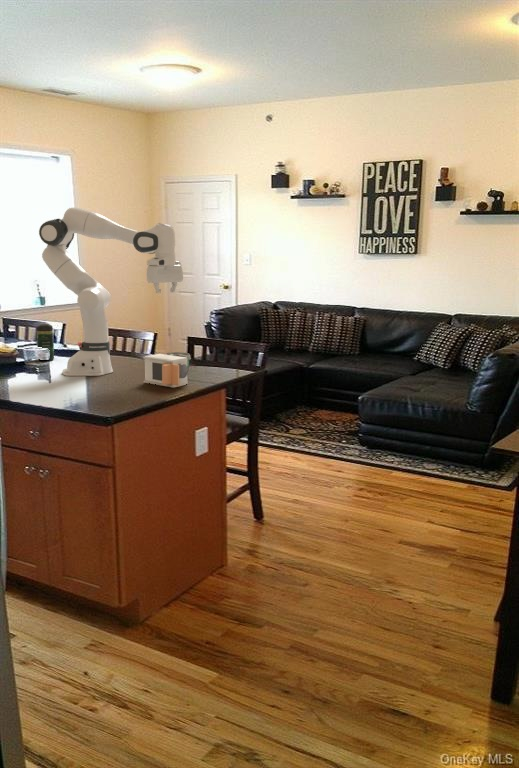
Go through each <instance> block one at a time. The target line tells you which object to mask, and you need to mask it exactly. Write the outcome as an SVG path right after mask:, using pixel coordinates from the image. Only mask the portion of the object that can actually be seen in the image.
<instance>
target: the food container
mask: <svg viewBox="0 0 519 768" xmlns="http://www.w3.org/2000/svg"><path fill="white" fill-rule="evenodd" d="M165 355H172V356H180V357H187V367H188V370H189V367H190V360H191V359H192V357H191V354H190V353H188V352H182V351H181V352H180V351H175V352H172V351H171V352H167V353H166V354H165ZM187 377H189V373H188V374H187Z"/></svg>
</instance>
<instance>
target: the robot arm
mask: <svg viewBox="0 0 519 768" xmlns="http://www.w3.org/2000/svg"><path fill="white" fill-rule="evenodd" d="M175 233H176V232H175V229H174V227H173V226H172V225H170V224H165V223H161V222H157V223H156V224H155V225H154V226H151V227H150V228H147V229H144V230H141V231H139V230H135V229H131V228H129V227H125V226H123V225H120V224H118V223H117V222H114V221H112V220H111V219H110V218H108V217H106V216H104V215H102V214H99V213H98V212H96V211H95V212H94V211H92V210H89V209H85V208H78V207H69V208H67V209H66V211H65V212H64V213H63V217H62V219H61V218H54V219H50V220H46V221H45V222H43V223H42V224H41V225H40V227H39V229H38V235H39V238H40V240H41V241H42V243H45V244H46V245H47V246H46V248H44V249H43V251H42V254H41V258H42V260H43V262H44V263H45V264H46V266H47V267H48V269H49V270H50V271H51V272H52V274H53V275H54V276H56V278H57V279H58V280H59V281H60V282H61V284H62V285H63V286H65V287H66V289H68V290H70V291H71V292H73V293H74V295H76V296H77V301H76V302H77V305H78V308H79V311H80V317H81V321H82V329H83V330H82V331H83V341H78V343H77V346H78V347H79V348H78V349H79V350H78V351H77V352H76V353H74V354H73V355H72V356H71V357H69V358H68V361H67V363H66V364H67V365H66V368H65V369H64V368H63V370H62V373H61V374H62V375H64V376H66V377H70V376H71V377H76V376H77V377H80V376H81V377H83V376H85V377H86V376H87V377H88V376H89V377H90V376H91V377H94V376H97V377H98V376H103V375H107V374H111V373H113V372H114V369H113V367H112V362H111V356H110V353H111V343H110V339H109V323H108V321H107V316H106V312H105V309H107V308H108V306H109V305H110V303H111V301H112V300H111V299H112V296H111V295H112V294H111V293H110V292H109V290H108V289H106V288H105V286H103V285H102V284H101V283H100V282H99V281H98V280H96V279H95V278H94V277H93V276H91V275H90V274H89V273H88V271H86V270H85V269H84V268H83V267H82V266H81V265H80V264H79V263H78V261H76V260H75V258H73V257H72V255H70V253H69V252H68V251H67V249H68V248H69V247H70V245H71V244H72V241H73V240H74V238H75V234H78V235H82V236H85V237H88V238H91V239H92V238H93V239H97V240H117V241H122V242H125V243H128V244H131V245H133V247H134V249H135V250H136V251H138V252H139V253H141V254H150V255H153V254H154V257H152V258H150V259H147V260H146V265H147V268H146V281H147V283H148V284H149V283H150V284H153V287H154V288H155V289H154V290H155V294H161V291H162V288H160V284H161V283H171V287H170V289H169V291H170V292H169V293H176V288H177V286H178V283H182V282H183V281H184V273H183V267H182V263H181V262H180V261H177V260H176V252H175V248H176V234H175Z"/></svg>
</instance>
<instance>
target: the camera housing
mask: <svg viewBox="0 0 519 768" xmlns="http://www.w3.org/2000/svg"><path fill="white" fill-rule="evenodd" d="M142 357H143V358H142V359H144V380H143V383H145V384H149V383H150V384H151V385H155V384H156V385H155V386H163V387H166V388H167V387H168V388H177V387H182V386H186V384H187V385H188V383H189V382H188V378H189V376H187V374H188V375H189V369H188V367H187V357H180V356H172V355H166V354H163V353H157V354H156V353H155V354H151V355H145V356H142ZM163 363H169V364H175V365H179V386H176V385H170V384H168V385H162V365H163Z"/></svg>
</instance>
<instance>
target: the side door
mask: <svg viewBox="0 0 519 768" xmlns="http://www.w3.org/2000/svg"><path fill="white" fill-rule="evenodd" d="M168 384H170V385H176V386H178V387H180V386H179V365H175V364H169V363H163V365H162V385H168Z"/></svg>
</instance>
